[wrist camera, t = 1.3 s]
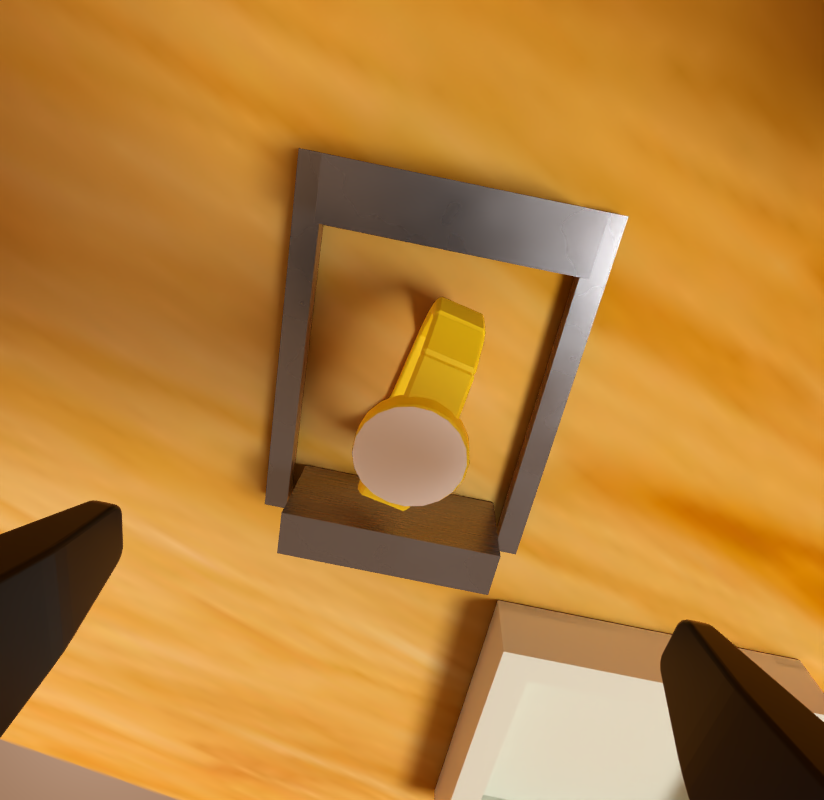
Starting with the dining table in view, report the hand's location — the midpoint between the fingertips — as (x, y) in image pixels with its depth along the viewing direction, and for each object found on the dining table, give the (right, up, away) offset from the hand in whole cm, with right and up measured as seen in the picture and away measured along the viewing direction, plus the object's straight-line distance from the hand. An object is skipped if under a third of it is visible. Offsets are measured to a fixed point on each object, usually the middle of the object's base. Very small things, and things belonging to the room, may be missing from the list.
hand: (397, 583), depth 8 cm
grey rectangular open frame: (+1, +4, +9) cm, 10 cm away
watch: (+1, +4, +9) cm, 10 cm away
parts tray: (+9, -12, +15) cm, 21 cm away
